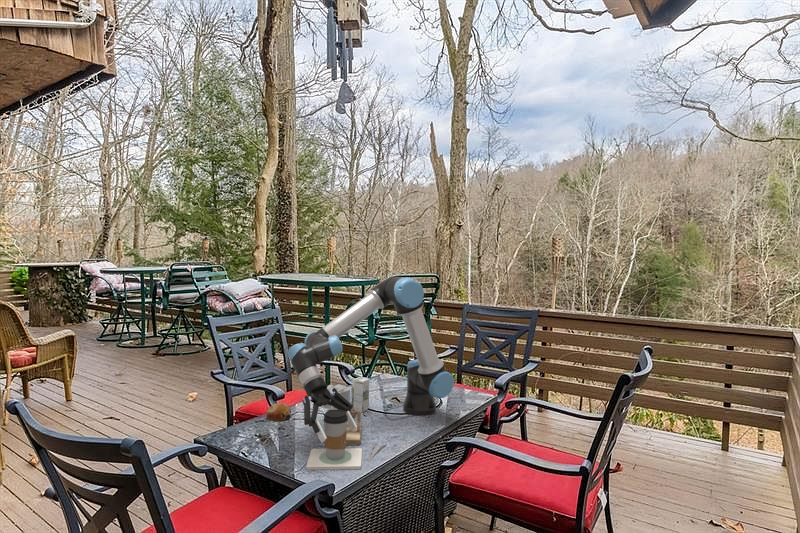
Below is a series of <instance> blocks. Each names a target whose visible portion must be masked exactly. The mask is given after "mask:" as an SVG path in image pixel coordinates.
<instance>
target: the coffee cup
mask: <svg viewBox="0 0 800 533" xmlns="http://www.w3.org/2000/svg"><path fill="white" fill-rule="evenodd" d="M329 410H330V409H329ZM347 417H348V416H347V414H346V411H344V410H330V411H326V412H325V413H324V416H323V426H324V429H323V431H324V433H325V435H326V437H327V439H326V440H325V441H324V442H325V443H324V444H325V445H324V446H325V448H324V449H326V456H327V458H328V459H330V460H339V459H341V458H343V457H344V455H345V448H346V447H347V445H346V434H347V424H348V423H347V420H348V418H347Z"/></svg>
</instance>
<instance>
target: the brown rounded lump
mask: <svg viewBox="0 0 800 533" xmlns="http://www.w3.org/2000/svg"><path fill="white" fill-rule="evenodd" d="M291 414H292V410H291V408H290V407H289V405H287V404H286V403H283V402H277V403H275V404H271V406H269V408H268V410H267V412H266V419H267V420H268V419H269V420H268V421H271V420H272V422H284V421H287V420H289V419H290V417H291ZM288 418H289V419H288ZM286 419H287V420H286ZM283 420H284V421H283Z"/></svg>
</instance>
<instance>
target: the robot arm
mask: <svg viewBox="0 0 800 533" xmlns="http://www.w3.org/2000/svg"><path fill="white" fill-rule="evenodd" d="M424 297H425V291H424V288H423V286H422V284H421V283H420V282H419V281H418V280H417V279H414V278H412V277H407V276H406V277H402V276H390V277H387V278H386V279H384V280H382V281H380V283H378V284H377V285H375V286H374V287H372V288H371V289H369V291H368V294H367V295H365V296H364V297H363V298H362V299H359V300H358V301H357V302H356V303H355V304H353V305H352V306H350V307H349V308H347V309H346V310H345V311H343V312H342V313H340V314H339V315H337V317H335V318H334V319H332V320H331V321H330V322H328V323H327V324H325V325H324V326H323V327H321V328H320V329H318V330H317V331H315V332H314V331H313V332H309V333H307V335H306V336H305V338H304V343H303V342H300V343H296V344H294V345H292V346H290V348H288V351H287V356H288V358H289V361H290V364H291V365H292V368H293V369H294V371H295V373H296V375H297V377H298V379H299V381H300V383H301V385H302V387H303V389H304V391H305V393H306V395H305V396H304V397H303V399H302V403H303V423H304V425H305V426H308V427H311V428H312V430H313V432H314V433H315V434H316V435H317V437H318V438H319V440H320V443H324V442H325V440H326V439H327V437H326V435H325V431H324V429H323V427H322V425H321V423H320V422H319V420H317V417H318V413H319V409H320V408H321V407H323V405H327V404H328V405H331V406H333V407H335V408H336V409H338V410H344V411H346V414H347V416H348V417H347V418H348V420H347V424H348V425H349V426H350V428H351V430H352V431H354V430H355V429H356V428H357V425H356V424H357V422H356V421H355V420H354V419H355V418H354V417H353V415H352V413H351V411H350V410H351V409H352V408H353V405H352V403H351V402H350V403H349V402H348V401H347V400H346V399H345V398H344V397H343V396H341V395H340V394H339V393H338V392H337V390H336V389H335V388H333V389H332V390H331V391H329V390H328V389H327V386H328V385H327V383H326V381H325V378H324V377H323V376H322V374H321V372H320V369H319V368H318V366H317V365H319V364H321V363H323V362H325V361H328V360H329V359H332V358H334V357H337V356H338V355H341V353H343V344H342V341H341V340H340V338H341V337H342V336H344V335H345V334H347V333H348V332H349V331H350V330H352V329H353V328H354V327H355V326H357V325H359V324H360V323H361V322H362V321H364V320H365V319H367V318H368V317H369V316H371V315H372V314H374V313H375V312H376V311H377V310H379V309H380V310H382V309H384V308H385V307H387V306H389V305H392V304H393V306H394V309H395V311H396V313H397V315H399V316H401V317H402V320H403V323H404V326H405V328H406V332H407V334H408V337H409V339H410V343H411V346H412V348H413V350H414V353H415V356H416V359H411V360H409V361H408V362H407V367H406V370H407V371H406V372H407V373H406V376H407V378H406V380H407V381H406V384H407V385H406V386H407V387H406V388H407V389H406V391H407V392H406V395H405V399H404V402H403V404H402V410H403V412H404V413H406V414H408V415H413V416H431V415H433V414H435V413H436V412H437V404H436V401H435V398H436V399H444V398H446V397H447V396H449V395H450V394H451V392H452V391H453V388H454V386H455V379H454V376H453V374H451V373H450V372H448V371H447V369H446V365H445V363H444V361H443V359H440V358H439V357H438V353H437V351H436V348H435V344H434V342H433V339H432V336H431V333H430V329H429V328H428V324H427V322H426V318H425V316H424V312H423V310H422V309H423V308H424V302H423V300H424ZM330 399H331V401H330ZM311 403H313V404H312V409H311ZM432 413H433V414H432Z"/></svg>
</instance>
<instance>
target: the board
mask: <svg viewBox="0 0 800 533" xmlns="http://www.w3.org/2000/svg"><path fill="white" fill-rule="evenodd" d="M362 459H363V447H361V448H360V447H359V448H356V447H355V448H349V447H348V448H346V447H345V455H344V457H343V458H341V459H339V460H330V459H328V458H327V456H326V448H311V451H310V454H309V457H308V460H307V463H306V467H305V470H306V471H317V470H318V471H319V470H323V471H324V470H326V471H327V470H334V471H335V470H339V471H340V470H362V461H363V460H362Z"/></svg>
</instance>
